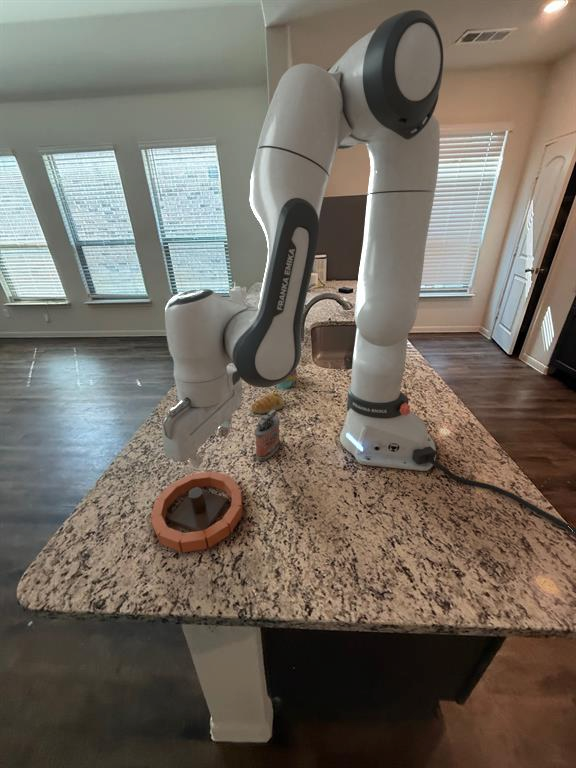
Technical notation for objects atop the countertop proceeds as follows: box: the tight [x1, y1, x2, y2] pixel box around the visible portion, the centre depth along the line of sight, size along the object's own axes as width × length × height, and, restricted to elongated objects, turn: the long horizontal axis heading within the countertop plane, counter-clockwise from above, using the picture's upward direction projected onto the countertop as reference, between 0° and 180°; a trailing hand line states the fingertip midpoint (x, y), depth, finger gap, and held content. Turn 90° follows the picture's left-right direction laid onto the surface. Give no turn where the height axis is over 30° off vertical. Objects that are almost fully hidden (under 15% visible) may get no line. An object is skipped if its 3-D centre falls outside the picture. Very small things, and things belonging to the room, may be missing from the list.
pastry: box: [251, 391, 285, 415], centre depth 92 cm, size 9×7×4 cm
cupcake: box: [276, 368, 298, 389], centre depth 103 cm, size 9×8×12 cm
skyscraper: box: [227, 281, 247, 305], centre depth 130 cm, size 8×8×28 cm
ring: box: [150, 470, 243, 553], centre depth 59 cm, size 16×16×2 cm
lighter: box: [253, 410, 281, 462], centre depth 73 cm, size 8×3×10 cm, turn 148°
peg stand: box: [167, 487, 229, 532], centre depth 59 cm, size 8×8×5 cm
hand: (211, 448), depth 61 cm, fingers open, 8 cm apart
